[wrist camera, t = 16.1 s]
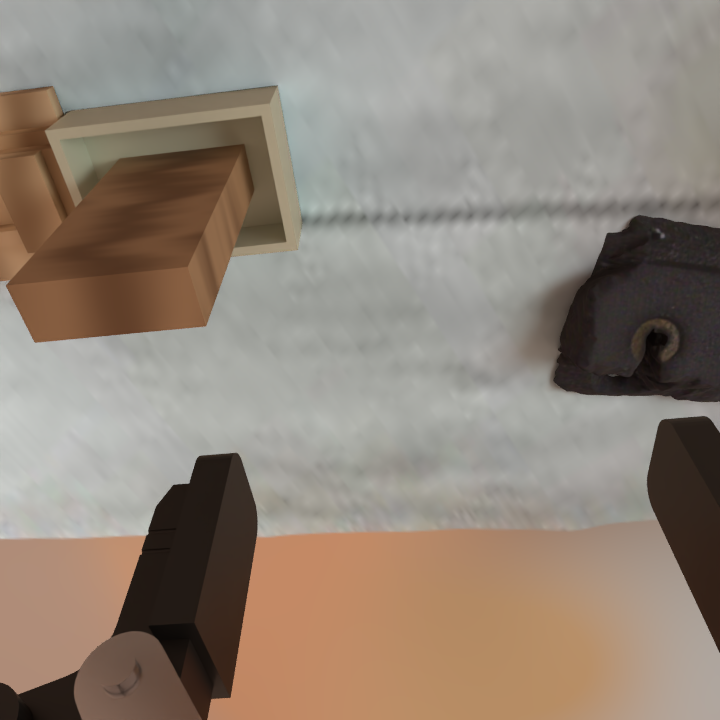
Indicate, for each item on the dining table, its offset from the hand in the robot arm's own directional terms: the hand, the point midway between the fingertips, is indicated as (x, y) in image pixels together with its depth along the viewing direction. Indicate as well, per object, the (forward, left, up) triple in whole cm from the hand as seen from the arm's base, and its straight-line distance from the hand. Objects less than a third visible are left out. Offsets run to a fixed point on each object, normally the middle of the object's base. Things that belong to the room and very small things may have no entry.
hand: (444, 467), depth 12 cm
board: (-4, -13, -31) cm, 34 cm away
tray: (-4, -13, -32) cm, 35 cm away
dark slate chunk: (+30, +7, -33) cm, 45 cm away
